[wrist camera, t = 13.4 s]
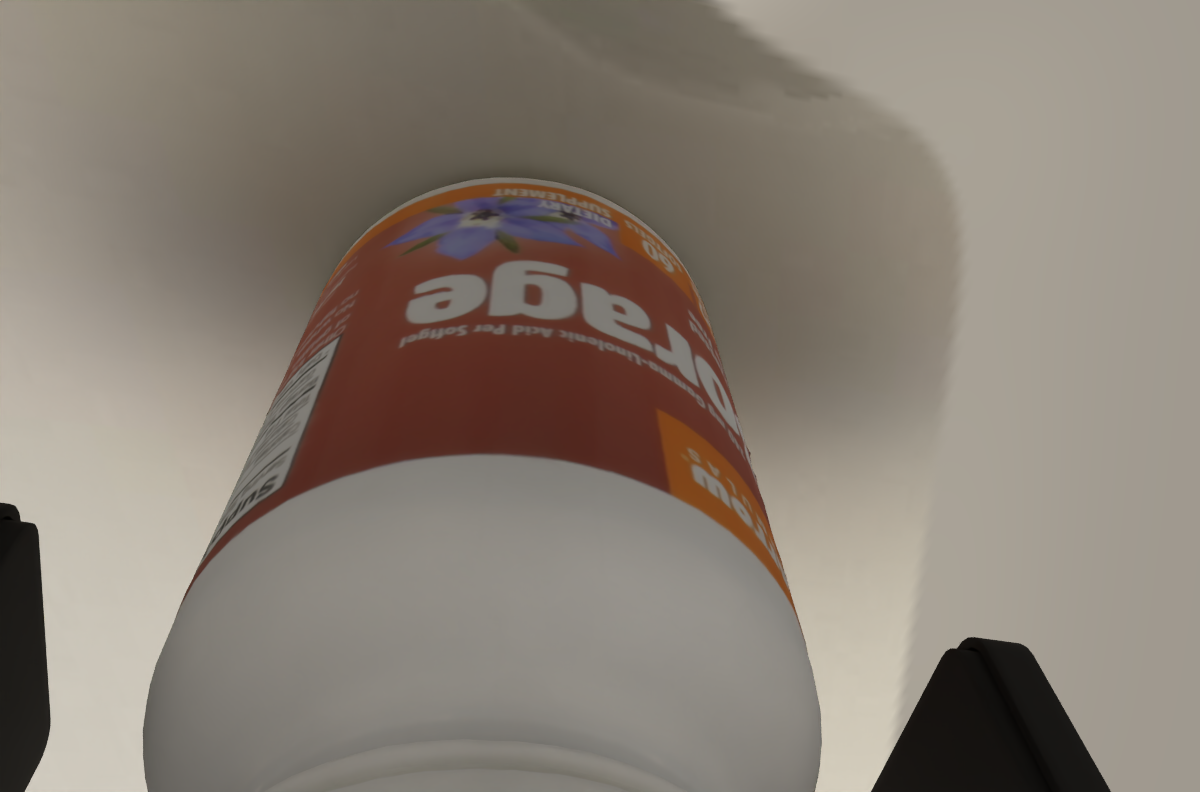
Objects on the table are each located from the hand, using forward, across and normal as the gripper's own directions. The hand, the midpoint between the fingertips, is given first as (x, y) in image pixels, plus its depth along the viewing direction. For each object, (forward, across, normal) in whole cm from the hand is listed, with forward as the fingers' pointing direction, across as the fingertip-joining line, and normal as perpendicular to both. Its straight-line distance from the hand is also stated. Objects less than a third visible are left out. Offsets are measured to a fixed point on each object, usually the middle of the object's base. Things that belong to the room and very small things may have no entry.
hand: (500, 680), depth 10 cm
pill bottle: (+7, 0, 0) cm, 7 cm away
